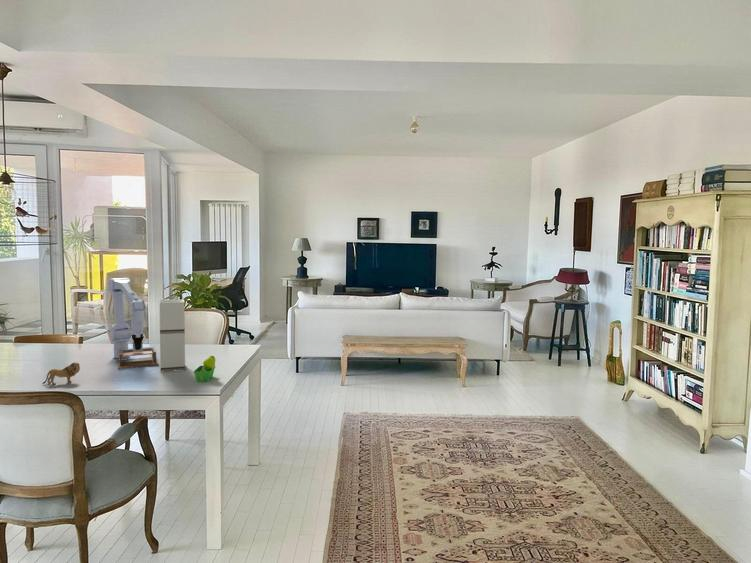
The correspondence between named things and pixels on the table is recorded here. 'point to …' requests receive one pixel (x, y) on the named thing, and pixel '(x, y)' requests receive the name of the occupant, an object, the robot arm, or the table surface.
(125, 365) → the frame
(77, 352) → the table surface
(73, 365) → the lion figurine
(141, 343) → the pale sage cube
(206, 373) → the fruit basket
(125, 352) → the trapdoor
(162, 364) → the striped white tower
